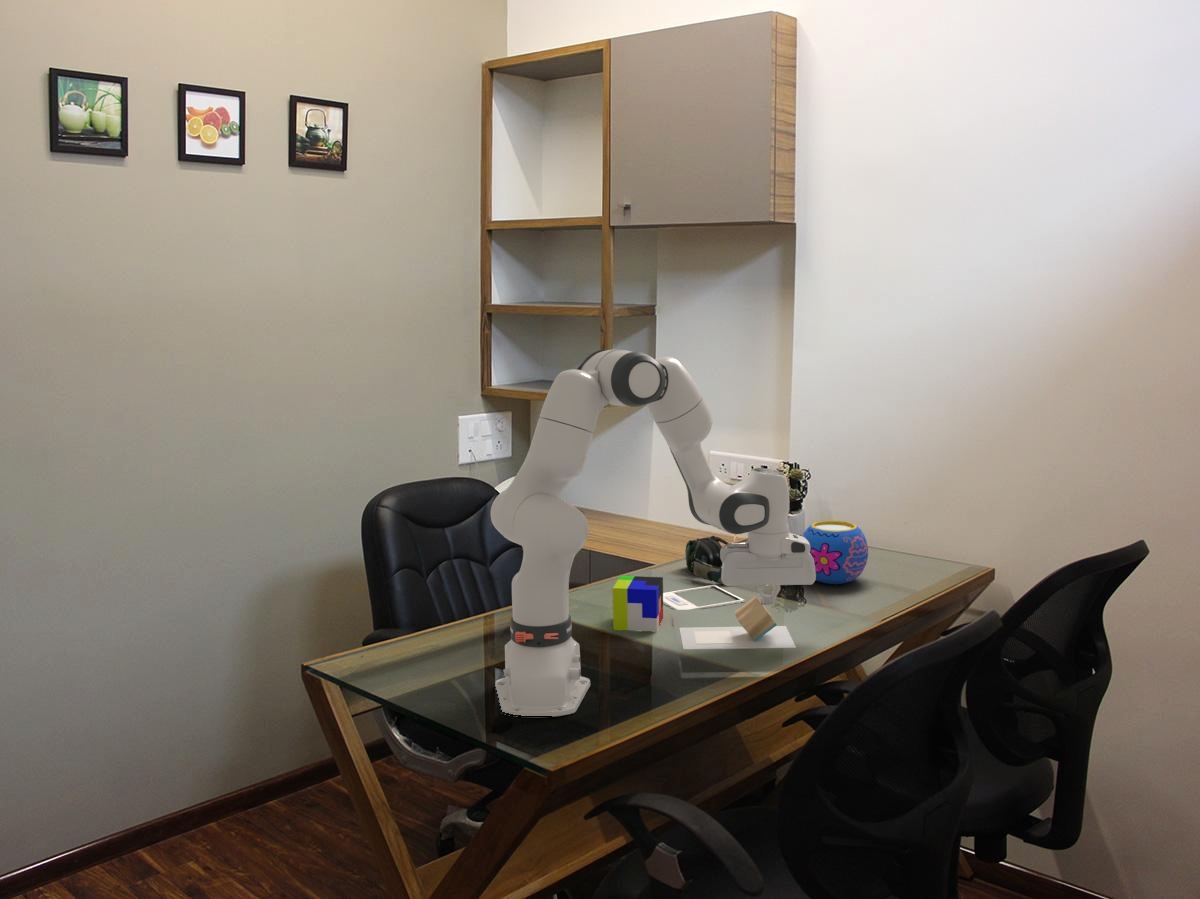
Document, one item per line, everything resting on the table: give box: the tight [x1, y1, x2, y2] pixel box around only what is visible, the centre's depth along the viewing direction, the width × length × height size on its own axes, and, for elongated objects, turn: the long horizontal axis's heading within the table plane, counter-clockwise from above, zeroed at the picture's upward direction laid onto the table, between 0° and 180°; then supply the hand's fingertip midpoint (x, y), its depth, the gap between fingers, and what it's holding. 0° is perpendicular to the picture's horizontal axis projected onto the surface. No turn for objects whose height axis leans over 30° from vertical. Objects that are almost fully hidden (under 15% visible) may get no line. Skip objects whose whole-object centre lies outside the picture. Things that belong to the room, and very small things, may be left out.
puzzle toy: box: [612, 575, 664, 632], centre depth 254 cm, size 10×10×10 cm
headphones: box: [685, 535, 729, 585], centre depth 292 cm, size 13×13×20 cm
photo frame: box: [663, 584, 746, 611], centre depth 272 cm, size 15×1×18 cm
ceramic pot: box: [799, 520, 869, 585], centre depth 283 cm, size 18×18×15 cm
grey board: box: [678, 625, 797, 650], centre depth 241 cm, size 14×24×1 cm, turn 90°
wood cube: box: [734, 596, 778, 641], centre depth 240 cm, size 6×6×6 cm
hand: (767, 603), depth 240 cm, fingers closed
